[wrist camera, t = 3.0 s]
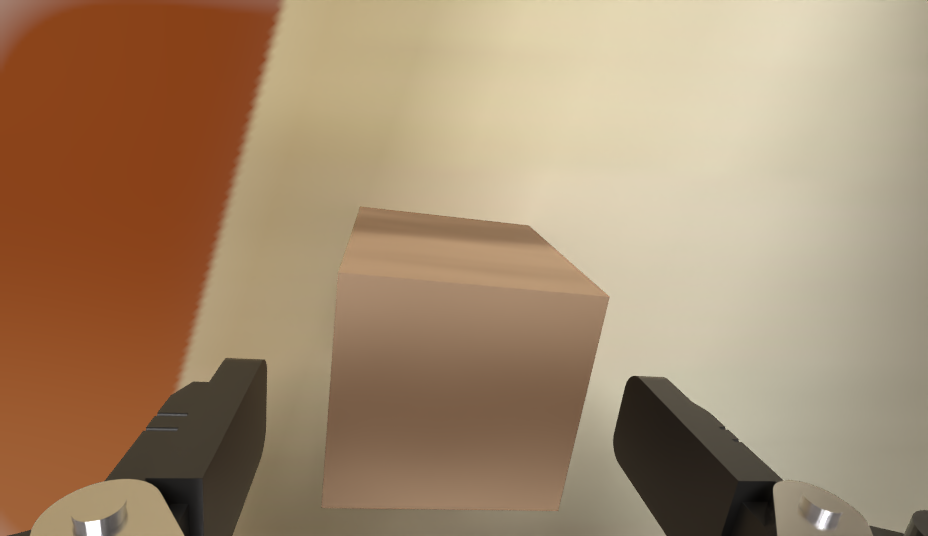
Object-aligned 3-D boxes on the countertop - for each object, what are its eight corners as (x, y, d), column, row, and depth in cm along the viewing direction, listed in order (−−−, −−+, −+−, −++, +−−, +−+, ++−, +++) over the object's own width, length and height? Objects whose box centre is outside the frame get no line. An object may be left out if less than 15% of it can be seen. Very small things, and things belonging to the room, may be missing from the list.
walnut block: (360, 206, 14) (338, 272, 9) (528, 225, 15) (609, 297, 9) (347, 362, 16) (321, 507, 10) (501, 371, 16) (557, 510, 11)
